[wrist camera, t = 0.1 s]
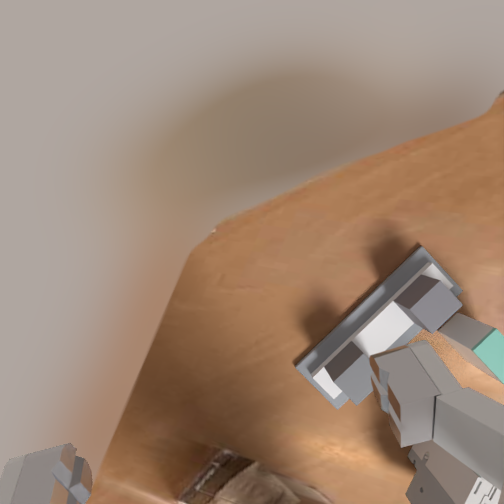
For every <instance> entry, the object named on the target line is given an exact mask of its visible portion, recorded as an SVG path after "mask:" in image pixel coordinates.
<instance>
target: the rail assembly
mask: <svg viewBox="0 0 504 504" xmlns="http://www.w3.org/2000/svg"><path fill="white" fill-rule="evenodd" d="M462 291H463V290H462V289H461V288H460V287H459V286H458V285H457V284H456V283H455V282H454V280H453V279H452V278H451V277H450V276H449V275H448V274H447V273H446V272H445V271H444V270H443V268H442V267H441V266H440V265H439V264H438V263H437V262H436V261H435V260H434V259H433V258H432V256H431V255H430V254H429V253H428V252H427V251H426V250H425V249H424V248H423V247H422V246H420V247H419V248H418V249H417V250H416V251H415V252H414V253H413V254H411V255H410V256H409V257H408V258H407V259H406V260H405V261H404V262H403V263H402V264H401V265H400V266H399V267H398V268H397V269H396V270H395V271H394V272H393V273H392V274H391V275H390V276H388V277H387V278H386V279H385V280H384V281H383V282H382V283H381V284H380V285H379V286H378V287H377V288H376V289H375V290H374V291H373V292H372V293H371V294H370V295H369V296H368V297H367V298H365V299H364V300H363V301H362V302H361V303H360V304H359V305H358V306H357V307H356V308H355V309H354V310H353V311H352V312H351V313H350V314H349V315H348V316H347V317H346V318H345V319H344V320H342V321H341V322H340V323H339V324H338V325H337V326H336V327H335V328H334V329H333V330H332V331H331V332H330V333H329V334H328V335H327V336H326V337H325V338H324V339H323V340H322V341H321V342H319V343H318V344H317V345H316V346H315V347H314V348H313V349H312V350H311V351H310V352H309V353H308V354H307V355H306V356H305V357H304V358H303V359H302V360H301V361H300V362H299V363H298V364H296V365H295V368H296V369H297V370H298V371H299V372H300V373H301V374H302V375H303V376H304V377H305V378H306V379H307V380H308V381H309V382H310V383H311V384H312V385H313V386H314V387H315V388H316V389H317V390H318V391H319V392H320V393H321V394H322V395H323V396H324V397H325V398H326V399H327V400H328V401H329V402H330V403H331V404H332V405H333V406H334V407H335V408H336V409H337V410H338V409H339V408H340V407H341V406H342V405H343V404H344V403H345V402H346V401H347V400H349V399H351V400H352V402H353V403H354V404H355V405H356V406H357V405H358V404H359V403H360V402H361V401H362V400H363V399H365V398H366V397H367V396H368V395H369V394H370V393H371V392H372V391H373V387H372V384H371V374H372V373H373V370H372V368H371V366H370V362H369V358H370V355H373V354H376V353H380V352H383V351H386V350H390V349H393V348H396V347H399V346H403V345H406V344H407V343H409V342H410V341H411V340H412V339H413V338H414V337H415V336H416V335H417V334H418V333H419V332H420V331H421V330H422V329H425V330H427V331H428V332H430V333H432V334H433V333H434V332H435V331H436V330H437V329H438V328H439V327H440V326H441V325H443V324H444V323H445V322H446V321H447V320H448V319H449V318H450V317H451V316H452V315H453V314H454V313H455V312H456V311H457V310H458V309H459V308H460V307H462V306H463V304H462V303H461V302H460V301H459V300H458V299H457V298H456V297H457V296H458V295H459V294H460V293H461V292H462Z"/></svg>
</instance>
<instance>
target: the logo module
mask: <svg viewBox="0 0 504 504" xmlns="http://www.w3.org/2000/svg"><path fill="white" fill-rule="evenodd" d="M438 332H439V333H440V334H441V335H442V336H443V337H444V338H445V339H446V341H447V342H448V343H449V344H450V345H451V346H452V347H453V348H454V349H455V350H456V351H457V352H458V353H459V354H460V355H461V357H462V358H463V359H464V360H465V361H467V362H469V363H470V364H472V365H473V366H475V367H477V368H478V369H480V370H481V371H483V372H485V373H486V374H488V375H490V376H491V377H493V378H494V379H496V380H498V381H499V382H501V383H502V384H504V336H503V335H502V334H501V333H500V332H499V331H498V330H497V329H496V328H494V327H491V326H489V325H487V324H484V323H482V322H479V321H477V320H475V319H472V318H470V317H468V316H465V315H463V314H461V313H458V312H457V313H456V314H455V315H454V316H453V317H452V318H451V319H450V320H449V321H448V322H447V323H446V324H445V325H444V326H443V327H442V328H440V329H439V330H438Z"/></svg>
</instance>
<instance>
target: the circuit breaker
mask: <svg viewBox="0 0 504 504" xmlns="http://www.w3.org/2000/svg"><path fill="white" fill-rule="evenodd" d="M408 458H409V459H410V461H411V462H412V463H413V464H415V465H414V466H415V468H416V469H417V471H416V473H415V476H414V478H413V480H412V482H411V484H410V486H409V488H408V490H407V492H406V496H407V498H408V499H409V501H410V503H411V504H498V502H499V498H500V494H501V491H500V490H499V489H497V488H496V487H495V486H493V485H492V484H491V483H489V482H488V481H486V480H485V479H484V478H482V477H481V476H480V475H478V474H477V473H476V472H474V471H473V470H472V469H470V468H469V467H468V466H466V465H465V464H464V463H462V462H461V461H459V460H458V459H457V458H455V457H454V456H453V455H451V454H450V453H449V452H447V451H446V450H445V449H443V448H442V447H441V446H439V445H438V444H437V443H435V442H434V441H433V439H432V440H429V441H425V442H421V443H417V444H413V446H412V448H411V450H410V452H409V454H408Z"/></svg>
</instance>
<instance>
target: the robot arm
mask: <svg viewBox="0 0 504 504" xmlns="http://www.w3.org/2000/svg"><path fill="white" fill-rule="evenodd" d="M369 362H370V366H371V368H372V370H373V373H372V374H371V384H372V387H373V391H374V394H375V397H376V399H377V401H378V403H379V405H380V407H381V410H383V411H385V412H386V413H388V414H389V425H390V427H391V429H392V431H393V433H394V435H395V437H396V439H397V441H398V443H399V445H400V447H401V448H402V447H406V446H410V445H413V444H417V443H421V442H425V441H429V440H432V439H433V441H434V442H435V443H437V444H438V445H439V446H441V447H442V448H443V449H445V450H446V451H447V452H449V453H450V454H451V455H453V456H454V457H455V458H457V459H458V460H459V461H461V462H462V463H464V464H465V465H466V466H468V467H469V468H470V469H472V470H473V471H474V472H476V473H477V474H478V475H480V476H481V477H482V478H484V479H485V480H486V481H488V482H489V483H491V484H492V485H493V486H495V487H496V488H497V489H499V490H500V491H501V494H500V498H499V502H498V504H504V405H502V404H500V403H498V402H496V401H495V400H493V399H491V398H489V397H487V396H485V395H483V394H481V393H479V392H477V391H475V390H473V389H471V388H469V387H467V388H462V387H461V385H460V384H459V383H458V381H457V380H456V379H455V377H454V376H453V375H452V373H451V372H450V371H449V369H448V368H447V366H446V365H445V364H444V362H443V361H442V360H441V358H440V357H439V356H438V354H437V353H436V352H435V350H434V349H433V348H432V346H431V345H430V344H429V342H427V341H426V340H421V341H418V342H415V343H411V344H408V345H403V346H399V347H396V348H393V349H390V350H386V351H383V352H380V353H376V354H373V355H370V358H369ZM76 450H77V449H76V448H75V447H74V446H73V445H72V444H71V443H68V444H64V445H60V446H56V447H53V448H49V449H45V450H42V451H38V452H34V453H30V454H26V455H23V456H19V457H16V458H12V459H10V460H9V461H8V462H7V464H6V465H5V467H4V469H3V473H2V475H1V478H0V504H85V503H86V501H87V500H88V498H89V497H90V495H91V491H92V483H93V482H92V472H91V469H90V466H89V464H88V462H87V461H86V460H85V459H84V458H82V457H78V456H76Z"/></svg>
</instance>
